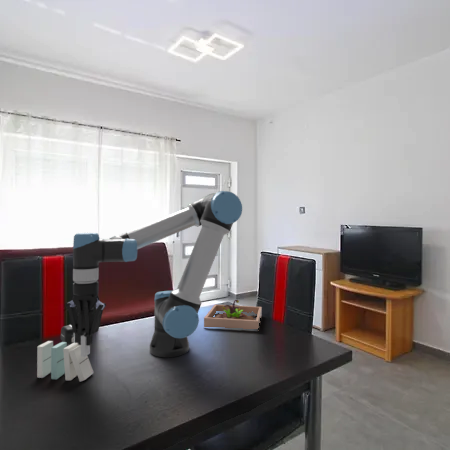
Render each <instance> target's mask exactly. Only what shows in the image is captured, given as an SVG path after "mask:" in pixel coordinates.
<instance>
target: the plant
mask: <svg viewBox="0 0 450 450" xmlns="http://www.w3.org/2000/svg"><path fill="white" fill-rule="evenodd" d="M236 303H237V304H239V303H240V300H239V299H235V300H234V301H233V304H232V305H233V307H231V306H230V305H229V304H224V305H225V306H224V307H223V309H225V307H226V306H229V308H230V310H229V309H228V311H226V310H224V311H225V312H226V313H223V314H216V315H215V317H212V318H226V319H242V320H256V318H254V316H247V315H245V314H243V313H241V312H242V311H243V310H240V308H239V307H235V304H236ZM236 308H237V309H236Z"/></svg>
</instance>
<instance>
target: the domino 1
mask: <svg viewBox="0 0 450 450" xmlns="http://www.w3.org/2000/svg"><path fill="white" fill-rule="evenodd" d="M65 347H67V342H63V341H61V342H59V343H57V344H55V345H53V347H52V348H51V373H50V375H51V376H50V377H51V380H58V379H59V378H60V377H62V376H63V375H65V366H64V352H63V349H64V348H65Z"/></svg>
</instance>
